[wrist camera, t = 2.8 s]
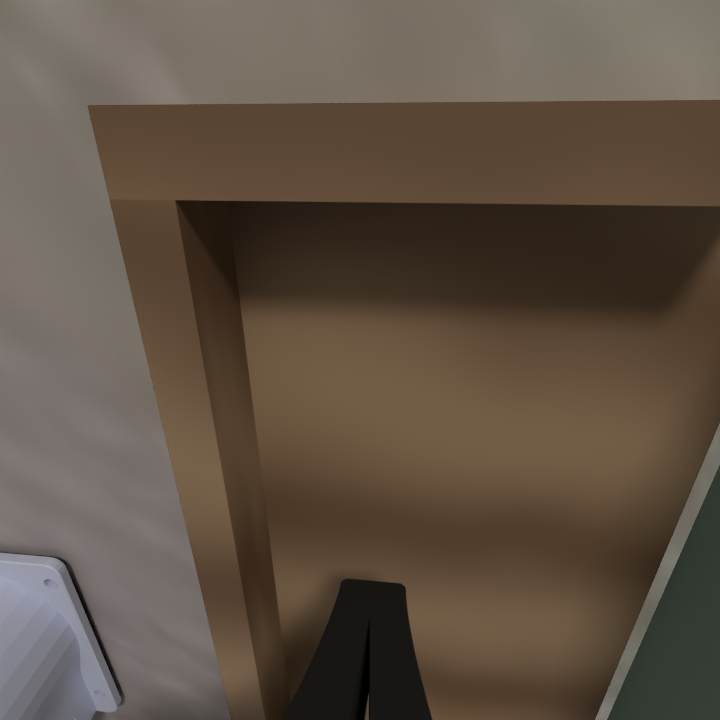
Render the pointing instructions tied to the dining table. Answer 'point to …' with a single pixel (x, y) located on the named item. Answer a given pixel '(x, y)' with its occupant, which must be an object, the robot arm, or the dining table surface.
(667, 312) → the tray
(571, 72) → the dining table surface
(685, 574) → the panel
